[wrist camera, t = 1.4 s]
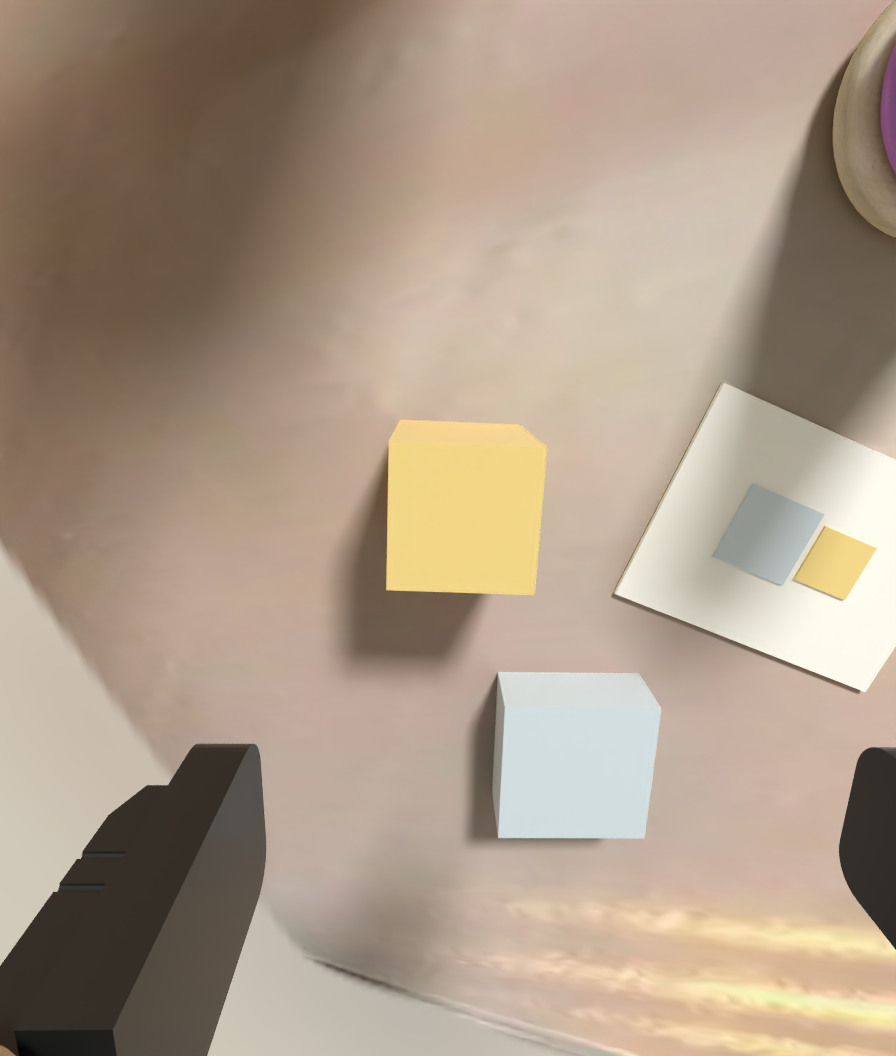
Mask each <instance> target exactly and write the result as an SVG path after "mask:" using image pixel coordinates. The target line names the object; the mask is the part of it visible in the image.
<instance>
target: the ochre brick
mask: <svg viewBox="0 0 896 1056" xmlns="http://www.w3.org/2000/svg"><path fill="white" fill-rule="evenodd" d="M546 457H547V447H546V446H545V445H544V444H543V443H541V442H540V441H539V440H538V439H537V438H535V437H534V436H533V435H532V434H530V433H529V432H528V431H527V430H526V429H524V428H523V427H522V426H521V425H517V424H493V423H468V422H444V421H419V420H400V421H399V423H398V425H397V427H396V429H395V430H394V432H393V434H392V436H391V438H390V440H389V458H388V518H387V577H386V590H393V591H424V592H455V593H486V594H517V595H535V585H536V574H537V562H538V550H539V539H540V527H541V515H542V504H543V492H544V480H545V469H546Z"/></svg>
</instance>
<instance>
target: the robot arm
mask: <svg viewBox="0 0 896 1056" xmlns="http://www.w3.org/2000/svg"><path fill="white" fill-rule="evenodd" d="M839 856H840V863H841V867H842V871H843V874H844V877H845V880H846V882H847V884H848V886H849V888H850V890H851V892H852V894H853V895H854V897H855V898H856V899H857V901H858V902H859V903H860V905H861V906H862V907H863V908H864V910H865V911H866V912H867V913H868V915H869V916H870V917H871V919H872V920H873V921H874V922H875V924H876V925H877V926H878V927H879V929H880V930H881V931H882V933H883V934H884V935H885V936H886V938H887V939H888V940H889V941H890V943H891V944H892V945H893V947H894V948H895V949H896V748H888V747H873V748H868V749H866V750H865V751H863V752H862V754H861V755H860V757H859V759H858V761H857V765H856V769H855V774H854V779H853V783H852V788H851V792H850V797H849V801H848V806H847V811H846V815H845V820H844V824H843V829H842V834H841V838H840V844H839ZM265 860H266V833H265V819H264V805H263V790H262V776H261V761H260V754H259V750H258V747H257V745H255V744H196V745H194V746H193V747H192V748H191V750H190V751H189V753H188V754H187V756H186V757H185V759H184V761H183V762H182V764H181V765H180V767H179V769H178V770H177V772H176V773H175V775H174V777H173V778H172V780H171V781H170V783H169V785H160V786H159V785H153V786H152V785H147V786H146V787H144V788H143V789H142V790H140V791H139V792H138V793H137V794H136V795H134V796H133V797H131V798H130V799H129V800H128V801H126V802H125V803H124V804H122V805H121V806H120V807H118V808H117V809H116V810H115V811H114V812H112V813H111V814H110V815H108V817H107V818H106V820H105V821H104V822H103V824H102V825H101V827H100V828H99V829H98V831H97V832H96V834H95V835H94V836H93V838H92V839H91V840H90V842H89V843H88V845H87V846H86V848H85V849H84V850H83V854H82V858H81V859H77V860H76V861H75V863H74V864H73V865H72V867H71V868H70V870H69V871H68V873H67V874H66V875H65V877H64V878H63V880H62V881H61V882H60V886H59V890H58V892H53V894H52V895H51V896H50V898H49V899H48V900H47V902H46V903H45V904H44V906H43V907H42V909H41V910H40V912H39V913H38V914H37V916H36V917H35V918H34V920H33V921H32V923H31V924H30V925H29V927H28V928H27V930H26V931H25V933H24V934H23V935H22V937H21V938H20V939H19V941H18V942H17V944H16V945H15V946H14V948H13V949H12V951H11V952H10V953H9V955H8V956H7V957H6V959H5V960H4V962H3V963H2V965H1V966H0V1056H207V1054H208V1051H209V1048H210V1045H211V1042H212V1039H213V1036H214V1033H215V1030H216V1026H217V1024H218V1020H219V1017H220V1014H221V1011H222V1008H223V1005H224V1002H225V999H226V996H227V993H228V990H229V987H230V984H231V981H232V978H233V975H234V972H235V969H236V965H237V963H238V959H239V956H240V953H241V950H242V947H243V944H244V941H245V938H246V935H247V932H248V929H249V926H250V923H251V920H252V917H253V913H254V911H255V907H256V905H257V901H258V898H259V895H260V891H261V887H262V882H263V876H264V869H265Z"/></svg>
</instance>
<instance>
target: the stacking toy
mask: <svg viewBox="0 0 896 1056" xmlns="http://www.w3.org/2000/svg"><path fill="white" fill-rule="evenodd" d="M833 152H834V159H835V163H836V168H837V172H838V175H839V178H840V181H841V184H842V186H843V188H844V190H845V192H846V194H847V196H848V198H849V200H850V201H851V203H852V204H853V206H854V207H855V208H856V210H857V211H858V212H859V213H860V214H861V215H862V217H863V218H865V219H866V220H867V221H868V222H869V223H870V224H871V225H873V226H874V227H876V228H877V229H879V230H880V231H882V232H884V233H886V234H888V235H890V236H892V237H895V238H896V0H894V1H893V2H892V3H891V4H890V5H889V6H888V7H887V8H886V9H885V10H884V11H883V13H882V14H881V15H880V16H879V17H878V19H877V20H876V21H875V22H874V24H873V25H872V26H871V28H870V29H869V30H868V32H867V33H866V34H865V36H864V38H863V39H862V41H861V42H860V44H859V45H858V47H857V49H856V51H855V53H854V54H853V56H852V58H851V60H850V62H849V65H848V67H847V69H846V72H845V74H844V77H843V80H842V83H841V86H840V89H839V92H838V96H837V101H836V105H835V111H834V120H833Z"/></svg>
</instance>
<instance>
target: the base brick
mask: <svg viewBox="0 0 896 1056" xmlns="http://www.w3.org/2000/svg"><path fill="white" fill-rule="evenodd" d="M660 715H661V707H660V706H659V704H658V703H657V701H656V699H655V698H654V696H653V695H652V693H651V692H650V690H649V688H648V687H647V685H646V684H645V682H644V681H643V679H642V678H641V676H640V674H639V673H552V672H498V680H497V701H496V722H495V743H494V764H493V784H492V795H493V803H494V811H495V818H496V826H497V833H498V838H645V831H646V823H647V815H648V808H649V800H650V792H651V785H652V777H653V769H654V762H655V754H656V746H657V739H658V731H659V723H660Z"/></svg>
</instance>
